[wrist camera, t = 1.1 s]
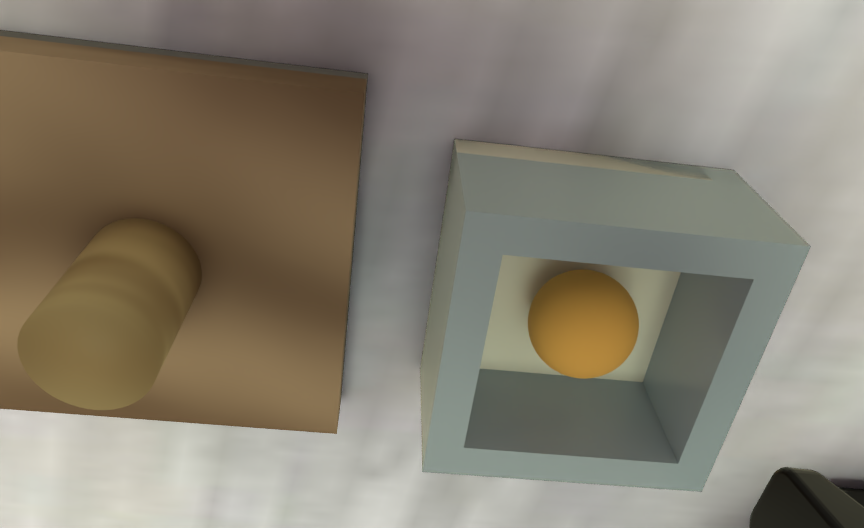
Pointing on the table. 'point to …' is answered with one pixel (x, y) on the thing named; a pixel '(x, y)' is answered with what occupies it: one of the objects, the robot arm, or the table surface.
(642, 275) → the grey square box
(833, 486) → the robot arm
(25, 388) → the walnut lid
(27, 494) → the table surface
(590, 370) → the clementine
